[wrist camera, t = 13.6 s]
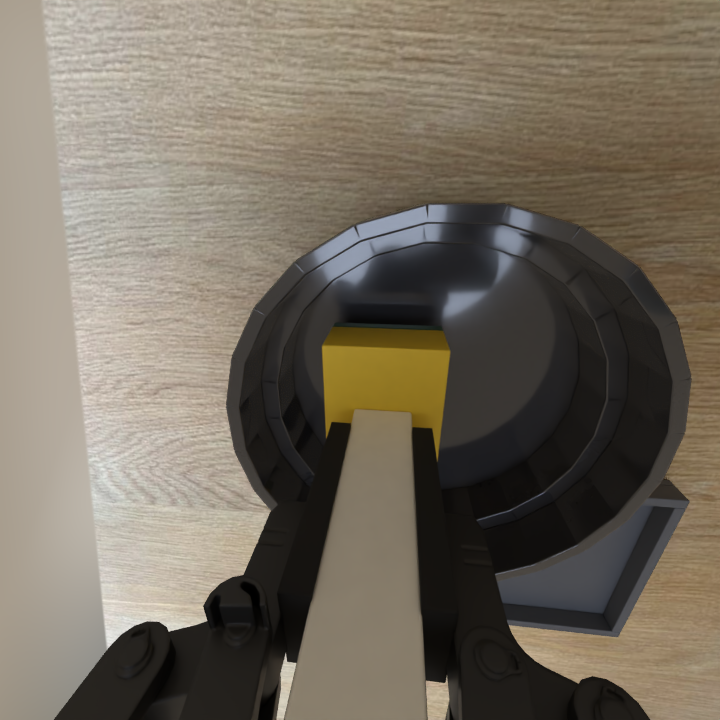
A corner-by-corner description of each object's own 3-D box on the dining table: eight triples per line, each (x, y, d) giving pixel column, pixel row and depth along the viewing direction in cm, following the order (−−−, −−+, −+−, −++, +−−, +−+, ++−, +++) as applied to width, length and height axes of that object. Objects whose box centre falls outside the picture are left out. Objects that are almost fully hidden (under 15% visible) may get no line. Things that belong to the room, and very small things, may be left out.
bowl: (668, 389, 19) (781, 465, 13) (413, 535, 25) (417, 626, 20) (452, 106, 14) (484, 46, 9) (214, 367, 21) (149, 424, 15)
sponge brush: (334, 321, 16) (157, 629, 4) (442, 325, 16) (567, 684, 4) (338, 456, 19) (242, 841, 8) (427, 463, 19) (472, 885, 7)
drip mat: (496, 467, 22) (503, 487, 20) (668, 479, 21) (690, 501, 19) (468, 597, 27) (473, 621, 26) (605, 612, 26) (618, 637, 25)
